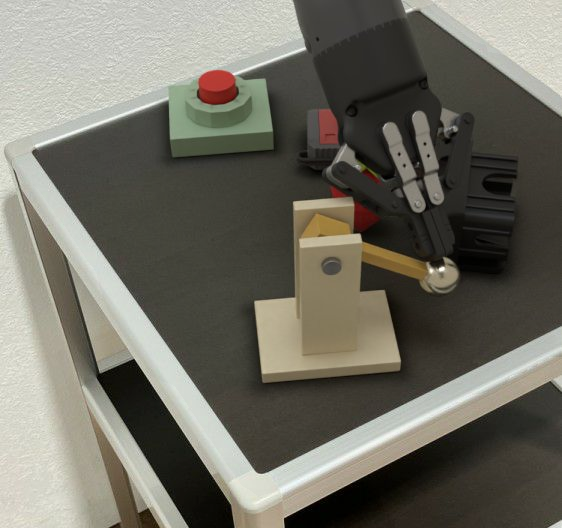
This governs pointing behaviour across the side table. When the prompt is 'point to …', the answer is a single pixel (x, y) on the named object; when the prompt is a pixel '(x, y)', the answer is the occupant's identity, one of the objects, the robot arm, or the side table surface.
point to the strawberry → (361, 214)
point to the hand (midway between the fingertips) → (440, 257)
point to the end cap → (482, 211)
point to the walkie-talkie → (320, 140)
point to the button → (217, 87)
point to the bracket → (326, 308)
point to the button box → (220, 120)
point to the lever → (394, 259)
